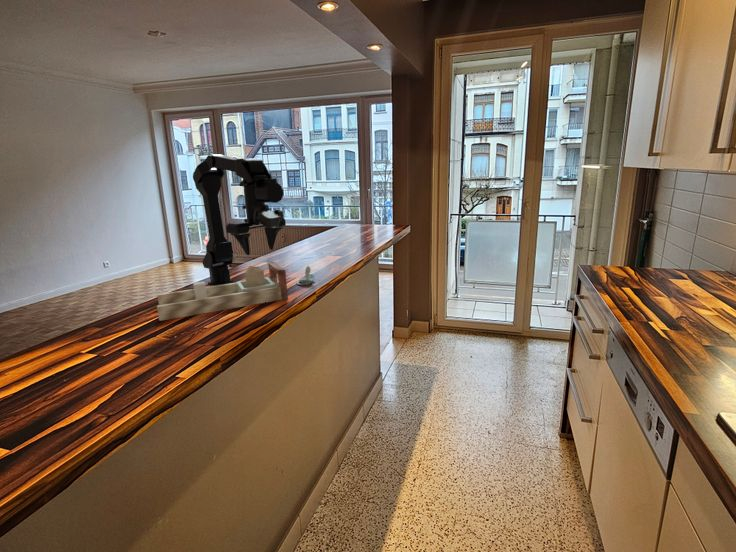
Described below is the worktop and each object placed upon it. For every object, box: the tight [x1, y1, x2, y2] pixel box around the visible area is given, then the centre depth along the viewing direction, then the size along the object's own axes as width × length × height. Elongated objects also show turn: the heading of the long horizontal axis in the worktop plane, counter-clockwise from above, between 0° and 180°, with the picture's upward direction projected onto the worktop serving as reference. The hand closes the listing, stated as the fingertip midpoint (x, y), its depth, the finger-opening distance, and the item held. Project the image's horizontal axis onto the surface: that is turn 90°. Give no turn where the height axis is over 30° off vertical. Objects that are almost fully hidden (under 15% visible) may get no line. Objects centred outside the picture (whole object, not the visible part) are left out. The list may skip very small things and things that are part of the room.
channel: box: [156, 261, 289, 322], centre depth 122 cm, size 36×13×9 cm, turn 116°
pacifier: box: [296, 265, 315, 286], centre depth 141 cm, size 7×6×6 cm
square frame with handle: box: [192, 276, 276, 299], centre depth 124 cm, size 22×10×7 cm, turn 116°
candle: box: [244, 265, 265, 288], centre depth 126 cm, size 6×6×10 cm
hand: (260, 252), depth 127 cm, fingers open, 9 cm apart
